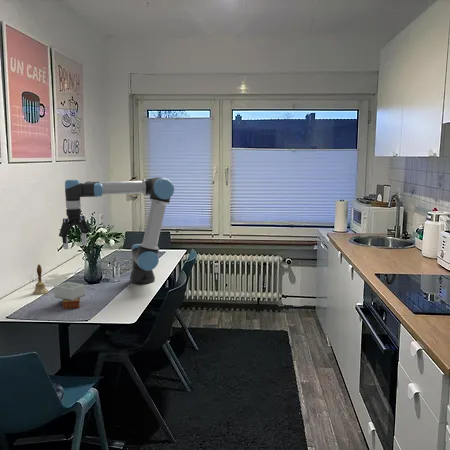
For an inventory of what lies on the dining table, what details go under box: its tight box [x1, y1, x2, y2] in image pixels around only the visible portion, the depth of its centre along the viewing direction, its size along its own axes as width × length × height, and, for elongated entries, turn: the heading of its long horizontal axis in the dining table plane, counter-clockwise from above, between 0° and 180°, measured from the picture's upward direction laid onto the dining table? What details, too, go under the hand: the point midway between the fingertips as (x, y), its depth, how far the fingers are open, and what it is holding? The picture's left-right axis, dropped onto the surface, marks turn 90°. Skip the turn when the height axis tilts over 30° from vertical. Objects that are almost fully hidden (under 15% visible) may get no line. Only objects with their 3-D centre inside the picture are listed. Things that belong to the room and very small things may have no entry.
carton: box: [62, 298, 81, 310], centre depth 236 cm, size 8×16×4 cm, turn 18°
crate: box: [53, 281, 86, 301], centre depth 235 cm, size 9×12×6 cm
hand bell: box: [32, 264, 49, 295], centre depth 255 cm, size 8×8×16 cm
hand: (75, 246), depth 249 cm, fingers open, 13 cm apart
